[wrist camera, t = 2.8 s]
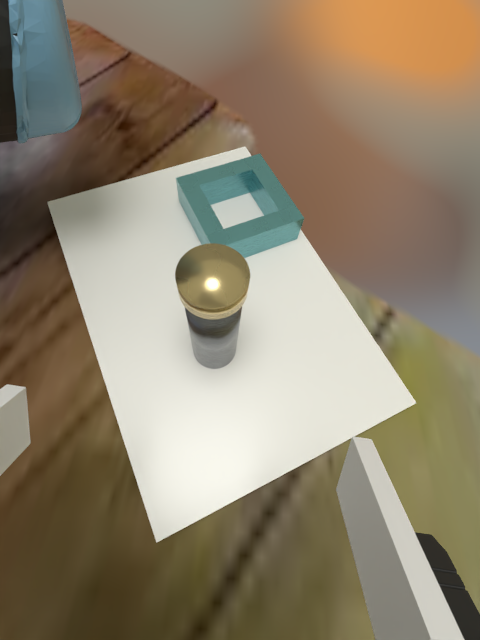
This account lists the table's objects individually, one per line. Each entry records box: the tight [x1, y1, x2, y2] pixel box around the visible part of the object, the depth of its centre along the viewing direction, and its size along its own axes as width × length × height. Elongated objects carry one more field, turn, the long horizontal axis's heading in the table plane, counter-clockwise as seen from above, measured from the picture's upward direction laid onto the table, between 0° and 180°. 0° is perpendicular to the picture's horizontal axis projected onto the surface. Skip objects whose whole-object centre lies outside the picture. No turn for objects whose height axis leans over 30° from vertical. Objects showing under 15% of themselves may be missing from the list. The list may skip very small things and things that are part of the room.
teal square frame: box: [176, 154, 304, 258], centre depth 33 cm, size 9×9×3 cm
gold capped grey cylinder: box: [175, 243, 250, 369], centre depth 24 cm, size 4×4×12 cm
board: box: [47, 147, 416, 543], centre depth 31 cm, size 32×22×1 cm
